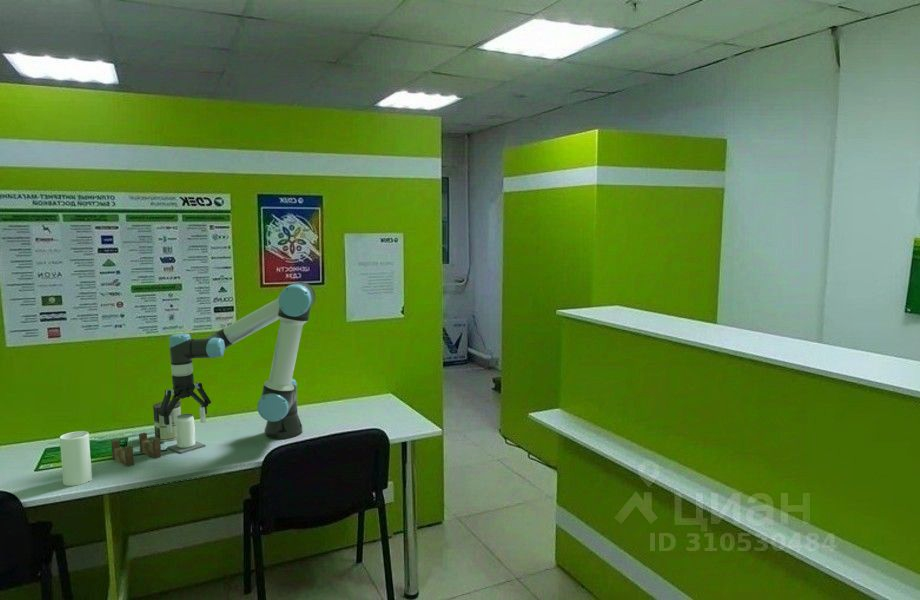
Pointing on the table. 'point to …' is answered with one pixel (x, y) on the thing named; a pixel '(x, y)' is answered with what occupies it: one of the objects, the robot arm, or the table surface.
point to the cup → (75, 458)
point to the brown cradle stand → (126, 454)
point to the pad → (183, 450)
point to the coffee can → (161, 427)
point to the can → (185, 431)
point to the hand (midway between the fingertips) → (187, 427)
